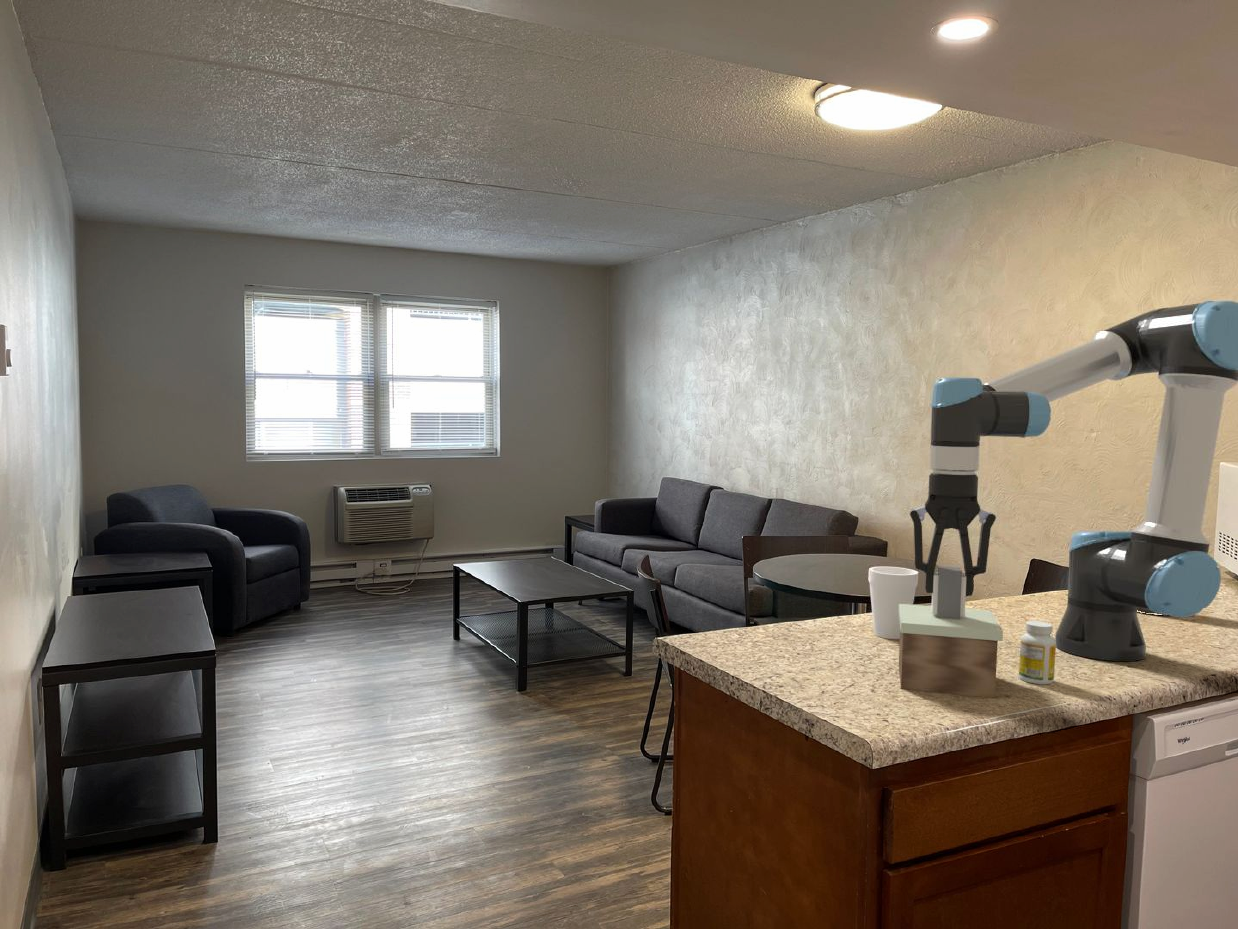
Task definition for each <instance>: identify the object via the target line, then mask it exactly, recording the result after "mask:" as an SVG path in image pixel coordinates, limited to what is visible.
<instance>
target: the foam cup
mask: <svg viewBox="0 0 1238 929" xmlns="http://www.w3.org/2000/svg"><path fill="white" fill-rule="evenodd" d="M867 580H868V582H869V592H870V602H871V603H870V604H871V614H872V616H871V617H872V623H873V624H872V625H873V626H872V627H873V631H874V632H873V634H874V635H875V636H877V637H879V638H882V639H889V640H900V620H899V604H910V605H914V602H915V595H916V590H917V586H918V585H919V571H917V570H914V569H911V568H907V567H898V566H872V567H870V568H869V569H868V579H867Z"/></svg>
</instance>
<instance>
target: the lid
mask: <svg viewBox="0 0 1238 929" xmlns="http://www.w3.org/2000/svg"><path fill="white" fill-rule="evenodd" d="M961 568H962V567H957V566H945V565H944V566H942V565H941V566H940V565H937V572H936V573H938V575H939V580H938V605H937V615H935V614H932V611H931V607H932V605H923V604H922V605H920V604H913V605H910V604H899V620H900V629H901V633H910V634H922V635H934V636H946V637H958V638H970V639H982V640H994V641H998V642H1004V641H1003V637H1004V636H1003V634H1004V631H1003V629H1002V627H1001V625H1000V623H999V622H998V620H997V619H996V617H995V615H994V614H993V612H992V610H987V609H977V608H975V609H973V608H965V617H961V616H960V606H961V583H962V574H963V570H962V569H961Z"/></svg>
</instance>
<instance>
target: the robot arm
mask: <svg viewBox="0 0 1238 929" xmlns="http://www.w3.org/2000/svg"><path fill="white" fill-rule="evenodd" d="M1152 373H1153V374H1154V373H1158V376H1157V378H1158V380H1159V381H1160V382H1161V383H1162V384H1163V386H1164V387H1165V393H1164V394H1165V395H1164V399H1163V406H1162V411H1161V418H1160V423H1159V429H1158V435H1157V440H1156V447H1155V451H1154V452H1155V453H1154V457H1153V464H1152V470H1151V475H1150V482H1149V486H1148V491H1147V492H1148V493H1147V500H1146V504H1145V505H1146V506H1145V509H1144V510H1145V511H1144V517H1143V521H1142V523H1140V524H1139V525H1137V526H1136V527H1134V528H1132V529H1131V530H1130V531H1129V530H1123V531H1121V530H1119V531H1118V530H1117V531H1116V530H1113V531H1111V530H1108V531H1107V530H1093V531H1092V530H1086V531H1085V530H1084V531H1083V530H1082V531H1081V530H1080V531H1077V532H1075V533H1073V535H1072V536H1071V541H1070V548H1069V550H1068V553H1069V556H1068V580H1067V581H1068V584H1067V604H1066V605H1067V606H1066V608H1065V612H1064V614H1063V616H1062V618H1061V620H1060V623H1059V624H1058V628H1057V630H1056V632H1055V638H1054V639H1055V641H1056V649H1059V650H1061V651H1063V652H1064V653H1065V652H1066V653H1068V654H1072V655H1075V656H1079V657H1083V658H1089V659H1095V660H1102V661H1103V660H1104V661H1113V662H1135V661H1136V660H1137V661H1140V660H1143V658H1144V659H1145V658H1146V652H1147V651H1146V650H1147V646H1146V641H1145V638H1144V634H1143V631H1142V627H1141V624H1140V621H1139V617H1138V612H1137V607H1140V608H1143V609H1147V610H1151V611H1153V612H1155V613H1157V614H1162V615H1170V616H1169V617H1175V618H1188V617H1192V616H1195V615H1197V614H1199V613H1201V612H1202V611H1203V610H1204V609H1207V608H1208V607H1209V606H1210V605H1211V603H1213V602H1214V600H1215V598H1216V597H1217V594H1218V592H1219V590H1220V588H1221V582H1222V574H1221V569H1220V568H1219V567H1218V562H1217V561H1216V560H1215V559H1214V558H1213V557H1212V556H1210V555H1209V549H1210V541H1209V539H1208V538H1207V537H1206V536H1205V535H1204V533H1203V531H1202V527H1203V521H1204V515H1205V509H1206V504H1207V498H1208V492H1209V487H1210V486H1209V485H1210V481H1211V480H1210V479H1211V476H1212V470H1213V469H1212V468H1213V464H1214V458H1215V451H1216V446H1217V440H1218V435H1219V430H1220V429H1219V428H1220V422H1221V417H1222V411H1223V405H1224V401H1225V394H1226V393H1227V392H1228V391H1230V390H1231V389H1232V388H1233V387H1235V386H1237V385H1238V302H1237V301H1234V300H1233V301H1232V300H1219V301H1218V300H1216V301H1214V300H1213V301H1212V300H1206V301H1204V302H1199V303H1193V304H1186V305H1179V306H1178V305H1177V306H1173V307H1162V308H1157V309H1153V310H1150V311H1147V312H1144V313H1142V314H1140V315H1137V316H1135V317H1133V318H1130V319H1128V320H1125V321H1123V322H1120V323H1119V324H1116V325H1114V326H1111V327H1109V328H1107V329H1104V330H1101V331H1099V332H1097V333H1096V334H1095V335H1093V337H1092V338H1091V340H1090V341H1089V342H1087V343H1083V344H1081V345H1079V346H1076V347H1074V348H1071V349H1069V350H1066V351H1063V352H1061V353H1058V354H1056V355H1054V356H1051V357H1049V358H1046V359H1044V360H1041V361H1039V362H1036V363H1033V364H1031V365H1028V366H1026V367H1023V368H1020V369H1018V370H1015V371H1014V372H1010V373H1008V374H1005V375H1003V376H1001V377H998V378H995V379H993V380H990V381H988V382H985V383H984V384H983V382H982V379H980V378H976V377H941V378H938V379H937V380H936V381H935V382H934V383H933V390H932V395H931V403H930V404H931V405H930V407H931V416H930V418H931V419H930V420H931V422H930V423H931V424H930V426H931V427H930V449H929V452H930V453H929V469H930V470H932V472H930V474H929V475H928V493H927V494H928V496H927V500H926V501H925V503H924V506H921V507H918V508H916V509H915V508H912V509H910V510H909V515H910V518H911V521H912V523H913V548H914V549H913V551H914V556H913V557H914V567H915V569H916V570H919V571H922V572H924V573H925V585H924V586H925V587H924V588H925V592H926V594H931V606H932V607H931V611H932V614H935V615H937V605H938V580H939V575H938V573H937V572H935V570H936V566H937V562H938V557H939V553H940V548H941V545H942V540H943V537H944V534H945V530H948V529H953V530H957V531H958V534H959V535H958V536H959V542H960V548H961V555H962V562H963V563H962V564H963V569H964V573H962V583H961V606H960V616H961V617H965V609H966V596H968V597H971V596H972V595H973V592H974V578H975V577H976V576H977V575H981V574H985V573H986V572H987V565H988V557H989V556H988V555H989V549H990V548H989V547H990V546H989V545H990V537H991V529H992V527H993V525H994V523H995V521H996V519H997V516H996V514H994V513H993V512H989V511H986V510H983V509H981V506H980V504H979V502H978V501H979V500H978V494H979V493H978V490H979V489H978V487H979V476H978V475H977V474H976V472H977V471H978V470H979V468H980V444H981V442H980V441H981V437H1000V438H1002V437H1003V438H1004V437H1005V438H1023V439H1025V438H1034V437H1035V438H1036V437H1039V436H1040V435H1043V434H1045V431H1046V430H1047V429H1048V428H1049V425H1050V422H1051V416H1052V415H1051V412H1052V409H1051V404H1050V403H1051V402H1054V401H1056V400H1059V399H1062V398H1063V397H1067V396H1069V395H1071V394H1074V393H1076V392H1079V391H1080V390H1081V391H1082V390H1083V389H1086V388H1088V387H1091V386H1094V385H1095V384H1099V383H1101V382H1103V381H1106V380H1110V381H1120V380H1121V381H1122V380H1123V379H1126V378H1128V377H1131V376H1138V375H1143V374H1152ZM926 513H927V514H928V515H929V517H930V518H931V520H932V521H933V522H934V524H935V526H934V532H933V536H932V540H931V545H930V549H929V554H928V557H927V562H924V556H923V555H924V554H923V553H924V552H923V549H924V548H923V523H922V522H923V521H924V520H925V514H926ZM978 516H979V519H978V521H979V523H980V524H981V526H980V532H979V541H978V542H979V543H978V551H977V559H976V565H974V564H973V559H972V558H973V557H972V549H971V544H970V538H969V536H970V535H969V529H968V527H969V525H970V524H971V523H972V521H974V519H975V518H976V517H978Z"/></svg>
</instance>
